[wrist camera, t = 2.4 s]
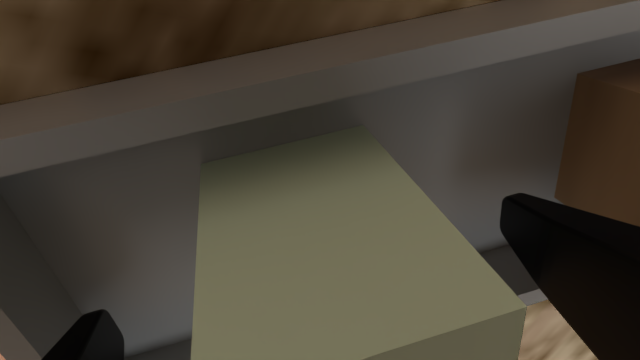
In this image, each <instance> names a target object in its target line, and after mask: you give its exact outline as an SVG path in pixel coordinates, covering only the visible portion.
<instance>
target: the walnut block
mask: <svg viewBox="0 0 640 360" xmlns="http://www.w3.org/2000/svg"><path fill="white" fill-rule="evenodd" d="M554 198H556V199H557V200H559V201H560V202H561V203H563V204H564V205H567V206H570V207H574V208H577V209H580V210H584V211H587V212H591V213H594V214H598V215H601V216H605V217H608V218H612V219H615V220H619V221H622V222H626V223H629V224H632V225H636V226H639V227H640V59H635V60H631V61H627V62H623V63H619V64H615V65H610V66H606V67H602V68H598V69H594V70H590V71H585V72H581V73H577V78H576V83H575V89H574V94H573V99H572V105H571V110H570V115H569V121H568V126H567V131H566V136H565V142H564V147H563V152H562V158H561V163H560V168H559V174H558V179H557V184H556V190H555V195H554Z"/></svg>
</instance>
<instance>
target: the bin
mask: <svg viewBox="0 0 640 360" xmlns="http://www.w3.org/2000/svg"><path fill="white" fill-rule="evenodd" d="M635 59H640V0H501V1H497V2H492V3H487V4H482V5H477V6H473V7H468V8H463V9H458V10H453V11H449V12H444V13H439V14H434V15H429V16H425V17H420V18H415V19H410V20H406V21H401V22H396V23H391V24H386V25H382V26H377V27H372V28H367V29H362V30H358V31H353V32H348V33H343V34H338V35H334V36H329V37H324V38H319V39H314V40H310V41H305V42H300V43H295V44H291V45H286V46H281V47H276V48H271V49H267V50H262V51H257V52H252V53H247V54H243V55H238V56H233V57H228V58H223V59H219V60H214V61H209V62H204V63H199V64H195V65H190V66H185V67H180V68H176V69H171V70H166V71H161V72H156V73H152V74H147V75H142V76H137V77H132V78H128V79H123V80H118V81H113V82H108V83H104V84H99V85H94V86H89V87H85V88H80V89H75V90H70V91H65V92H61V93H56V94H51V95H46V96H41V97H37V98H32V99H27V100H22V101H17V102H13V103H8V104H3V105H0V354H1V355H2V356H3V357H4V358H5V359H6V360H41V359H42V358H43V357H44V356H45V355H46V354H47V352H48V351H49V350H50V349H51V348H52V347H53V346H54V345H55V344H56V343H57V342H58V341H59V339H60V338H61V337H62V336H63V335H64V334H65V333H66V332H67V331H68V330H69V329H70V328H71V326H72V325H73V324H74V323H75V322H76V321H77V320H78V319H79V318H80V317H81V316H82V315H83V314H86V313H88V312H92V311H96V310H99V309H105V310H107V311H108V312H109V313H110V315H111V317H112V318H113V320H114V321H115V323H116V324H117V326H118V328H119V329H120V331H121V333H122V335H123V337H124V360H191V345H192V326H193V307H194V288H195V269H196V249H197V230H198V211H199V192H200V173H201V164H203V163H207V162H211V161H215V160H219V159H224V158H228V157H232V156H236V155H240V154H244V153H249V152H253V151H257V150H261V149H265V148H269V147H273V146H278V145H282V144H286V143H290V142H294V141H298V140H303V139H307V138H311V137H315V136H319V135H323V134H328V133H332V132H336V131H340V130H344V129H348V128H353V127H357V126H361V125H363V126H364V127H365V128H366V129H367V130H368V131H369V132H370V133H371V134H372V135H373V137H374V138H375V139H376V140H377V141H378V142H379V143H380V144H381V145H382V147H383V148H384V149H385V150H386V151H387V152H388V153H389V154H390V155H391V157H392V158H393V159H394V160H395V161H396V162H397V163H398V164H399V165H400V166H401V168H402V169H403V170H404V171H405V172H406V173H407V174H408V175H409V176H410V178H411V179H412V180H413V181H414V182H415V183H416V184H417V185H418V186H419V188H420V189H421V190H422V191H423V192H424V193H425V194H426V195H427V196H428V198H429V199H430V200H431V201H432V202H433V203H434V204H435V205H436V206H437V207H438V209H439V210H440V211H441V212H442V213H443V214H444V215H445V216H446V217H447V219H448V220H449V221H450V222H451V223H452V224H453V225H454V226H455V227H456V229H457V230H458V231H459V232H460V233H461V234H462V235H463V236H464V237H465V238H466V240H467V241H468V242H469V243H470V244H471V245H472V246H473V247H474V248H475V250H476V251H477V252H478V253H479V254H480V255H481V256H482V257H483V258H484V260H485V261H486V262H487V263H488V264H489V265H490V266H491V267H492V268H493V270H494V271H495V272H496V273H497V274H498V275H499V276H500V277H501V278H502V279H503V281H504V282H505V283H506V284H507V285H508V286H509V287H510V288H511V289H512V291H513V292H514V293H515V294H516V295H517V296H518V297H519V298H520V299H521V301H522V302H523V303H524V304H525V305H526V306H529V305H532V304H535V303H538V302H541V301H544V300H548V299H547V297H546V296H545V295H544V294H543V292H542V291H541V290H540V289H539V287H538V286H537V285H536V283H535V282H534V280H533V279H532V278H531V276H530V275H529V273H528V272H527V270H526V269H525V267H524V266H523V264H522V263H521V261H520V260H519V258H518V257H517V256H516V254H515V253H514V251H513V250H512V248H511V247H510V245H509V244H508V242H507V241H506V239H505V238H504V236H503V235H502V233H501V230H500V214H501V205H502V200H503V198H504V197H506V196H509V195H512V194H516V193H525V194H529V195H532V196H535V197H539V198H542V199H546V200H549V201H553V202H556V203H560V204H563V203H561V202H560V201H559V200H557V199H556V198H554V195H555V190H556V184H557V179H558V174H559V168H560V163H561V158H562V152H563V147H564V142H565V136H566V131H567V126H568V121H569V115H570V110H571V105H572V99H573V94H574V89H575V83H576V78H577V73H581V72H585V71H590V70H594V69H598V68H602V67H606V66H610V65H615V64H619V63H623V62H627V61H631V60H635ZM563 205H564V204H563Z"/></svg>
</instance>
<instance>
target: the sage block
mask: <svg viewBox="0 0 640 360" xmlns="http://www.w3.org/2000/svg"><path fill="white" fill-rule="evenodd" d="M526 310H527V306H526V305H525V304H524V303H523V302H522V301H521V299H520V298H519V297H518V296H517V295H516V294H515V293H514V292H513V291H512V289H511V288H510V287H509V286H508V285H507V284H506V283H505V282H504V281H503V279H502V278H501V277H500V276H499V275H498V274H497V273H496V272H495V271H494V270H493V268H492V267H491V266H490V265H489V264H488V263H487V262H486V261H485V260H484V258H483V257H482V256H481V255H480V254H479V253H478V252H477V251H476V250H475V248H474V247H473V246H472V245H471V244H470V243H469V242H468V241H467V240H466V238H465V237H464V236H463V235H462V234H461V233H460V232H459V231H458V230H457V229H456V227H455V226H454V225H453V224H452V223H451V222H450V221H449V220H448V219H447V217H446V216H445V215H444V214H443V213H442V212H441V211H440V210H439V209H438V207H437V206H436V205H435V204H434V203H433V202H432V201H431V200H430V199H429V198H428V196H427V195H426V194H425V193H424V192H423V191H422V190H421V189H420V188H419V186H418V185H417V184H416V183H415V182H414V181H413V180H412V179H411V178H410V176H409V175H408V174H407V173H406V172H405V171H404V170H403V169H402V168H401V166H400V165H399V164H398V163H397V162H396V161H395V160H394V159H393V158H392V157H391V155H390V154H389V153H388V152H387V151H386V150H385V149H384V148H383V147H382V145H381V144H380V143H379V142H378V141H377V140H376V139H375V138H374V137H373V135H372V134H371V133H370V132H369V131H368V130H367V129H366V128H365V127H364V126H363V125H361V126H357V127H353V128H348V129H344V130H340V131H336V132H332V133H328V134H323V135H319V136H315V137H311V138H307V139H303V140H298V141H294V142H290V143H286V144H282V145H278V146H273V147H269V148H265V149H261V150H257V151H253V152H249V153H244V154H240V155H236V156H232V157H228V158H224V159H219V160H215V161H211V162H207V163H203V164H201V173H200V192H199V211H198V230H197V249H196V269H195V288H194V307H193V326H192V345H191V360H518V355H519V350H520V344H521V338H522V332H523V327H524V321H525V315H526Z"/></svg>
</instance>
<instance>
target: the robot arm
mask: <svg viewBox="0 0 640 360" xmlns="http://www.w3.org/2000/svg"><path fill="white" fill-rule="evenodd" d="M500 230H501V233H502V235H503V236H504V238H505V239H506V241H507V242H508V244H509V245H510V247H511V248H512V250H513V251H514V253H515V254H516V256H517V257H518V258H519V260H520V261H521V263H522V264H523V266H524V267H525V269H526V270H527V272H528V273H529V275H530V276H531V278H532V279H533V280H534V282H535V283H536V285H537V286H538V287H539V289H540V290H541V291H542V292H543V294H544V295H545V296H546V297H547V299H548V300H549V301H550V302H551V303H552V304H553V306H554V307H555V308H556V309H557V310H558V312H559V313H560V314H561V315H562V316H563V318H564V319H565V320H566V321H567V322H568V324H569V325H570V326H571V327H572V328H573V330H574V331H575V332H576V333H577V334H578V336H579V337H580V338H581V339H582V340H583V342H584V343H585V344H586V345H587V346H588V348H589V349H590V350H591V351H592V352H593V354H594V355H595V356H596V357H597V358H598V359H599V360H640V227H639V226H636V225H632V224H629V223H626V222H622V221H619V220H615V219H612V218H608V217H605V216H601V215H598V214H594V213H591V212H587V211H584V210H580V209H577V208H574V207H570V206H567V205H563V204H560V203H556V202H553V201H549V200H546V199H542V198H539V197H535V196H532V195H529V194H525V193H516V194H512V195H509V196H506V197H504V198H503V200H502V205H501V214H500ZM41 360H124V337H123V335H122V333H121V331H120V329H119V328H118V326H117V324H116V323H115V321H114V320H113V318H112V317H111V315H110V313H109V312H108V311H107V310H105V309H99V310H96V311H92V312H88V313H86V314H83V315H82V316H81V317H80V318H79V319H78V320H77V321H76V322H75V323H74V324H73V325H72V326H71V328H70V329H69V330H68V331H67V332H66V333H65V334H64V335H63V336H62V337H61V338H60V339H59V341H58V342H57V343H56V344H55V345H54V346H53V347H52V348H51V349H50V350H49V351H48V352H47V354H46V355H45V356H44V357H43V358H42V359H41Z"/></svg>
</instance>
